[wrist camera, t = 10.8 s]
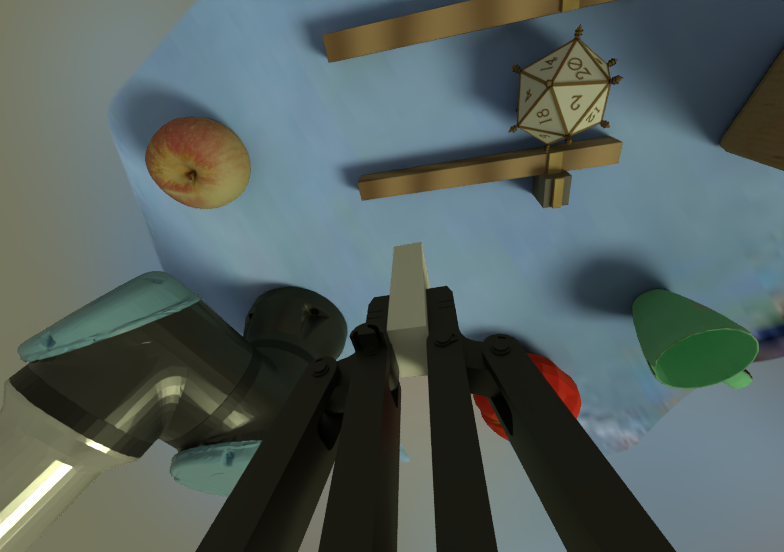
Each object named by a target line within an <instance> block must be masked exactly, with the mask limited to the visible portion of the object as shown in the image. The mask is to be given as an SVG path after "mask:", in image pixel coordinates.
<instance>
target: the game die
mask: <svg viewBox="0 0 784 552" xmlns="http://www.w3.org/2000/svg"><path fill="white" fill-rule="evenodd" d="M582 31H583V30H582V26H581V24H580V26H579V27H578V28H577V29H576V30H575V32H576V33H575V38H574V39H573V40H572V41H570V42H568V43H566V44H565V45H563V46H561V47H560V48H558V49H556V50H554V51H553V52H551V53H549V54H548V55H546V56H544V57H543V58H541V59H539V60H537V61H536V62H534V63H532V64H531V65H529V66H527V67H526V68H524V69H521V68H520V67H519V66H518V65H514V66H512V68H513V72H516V73H519V91H518V108H517V110H516V111H517V125H514V126H513V127H511V128H510V130H509V132H513V133H514V132H515V131H517V129H518V128H520V129H522V130H524V131H525V132H527V133H529V134H530V135H532V136H534V137H536V138H537V139H539V140H541V141H542V142H544V143H546V146H544V147H545V148H544V150H545V152H546V153H547V152H548V151H550V144H552V143H555V142H558V141H560V140H563V139H565V141H566V142H565V144H568V145H570V144H571V142H572V141H573V140H572V137H571V136H572V135H575V134H577V133H579V132H582V131H584V130H586V129H589V128H591V127H593V126H596V125H598V124H601V127H603V128H609V127H610V126H609V122H607V121H603V116H604V112H605V108H606V103H607V99H608V95H609V91H610V86H611V84H614V85H615V84H616V83H617V84H618V83H619V81H620V80H621V79H622V78H623V77H621V76H619V75H618V76H615V77H612V79H611V77H610V72H609V67H611V66H613V65H615V64H616V61H617V59H613V58H612V59H611V60H609V61H608V63H606V62H604V61H603V60H602V59H601V58H600V57H599V56H598V55H597V54H596V53H594V52H593V51H592V50H591V49H590V48H589V47H588V46H587V45H585V44H584V43H583V42H582V41H581V40H580V36H581V35H582Z"/></svg>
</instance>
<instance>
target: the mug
mask: <svg viewBox="0 0 784 552" xmlns="http://www.w3.org/2000/svg"><path fill="white" fill-rule="evenodd" d="M632 313H633V321H634V325H635V329H636V333H637V337H638V340H639V343H640V345H641V348H642V351H643V354H644V356H645V358H646V361H647V363H648V365H649V368H650V370H651V372H652V374H653V375H654V376H655V378H656V379H657V380H658V381H660V382H661V383H662V384H664V385H667V386H670V387H673V388H682V389H691V388H701V387H706V386H710V385H714V384H717V383H720V382H723V383H725V384H727V385H728V386H730V387H732V388H735V389H739V388H743V387H745V386H747V385H749V384H750V383H751V382H752V380H753V379H752V376H751V375H750V373H749V372H748V371H747V370H746V368H747V367H748V366H749V365H750V364H751V363H752V362H753V361H754V359H755V357H756V355H757V353H758V351H759V345H758V341H757V339H756V338H755V337H754V336H753V335H752V334H751V333H750V332H749V331H748V330H746V329H745V328H744V327H742V326H740V325H738V324H737V323H735V322H733V321H732V320H730V319H728V318H727V317H725V316H723V315H722V314H720V313H718V312H716V311H714V310H712V309H710V308H708V307H706V306H704V305H701V304H699V303H697V302H695V301H693V300H690V299H688V298H686V297H683V296H681V295H678V294H675V293H673V292H670V291H667V290H664V289H654V290H650V291H647V292H645V293H643V294H641V295H640V296H638V297H637V298H636V299H635V301H634V302H633V304H632Z"/></svg>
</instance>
